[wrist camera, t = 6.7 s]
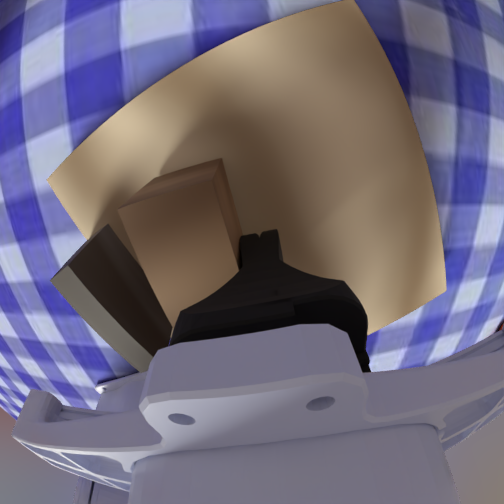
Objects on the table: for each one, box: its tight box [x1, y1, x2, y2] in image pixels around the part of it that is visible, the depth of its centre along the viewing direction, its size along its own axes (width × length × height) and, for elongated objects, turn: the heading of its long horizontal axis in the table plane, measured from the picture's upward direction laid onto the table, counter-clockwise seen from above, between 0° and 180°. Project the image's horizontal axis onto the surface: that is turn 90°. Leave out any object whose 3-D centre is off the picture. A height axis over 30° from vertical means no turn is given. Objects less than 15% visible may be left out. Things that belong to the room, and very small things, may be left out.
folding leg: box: [117, 158, 243, 329], centre depth 12 cm, size 14×3×4 cm, turn 13°
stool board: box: [47, 0, 446, 373], centre depth 12 cm, size 17×18×6 cm
